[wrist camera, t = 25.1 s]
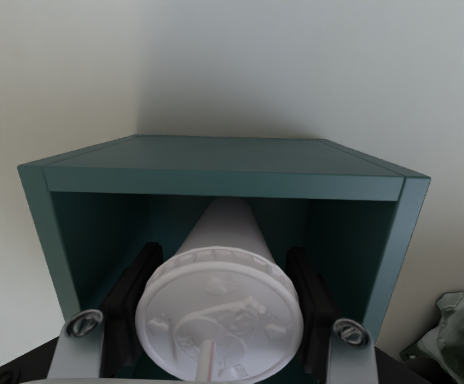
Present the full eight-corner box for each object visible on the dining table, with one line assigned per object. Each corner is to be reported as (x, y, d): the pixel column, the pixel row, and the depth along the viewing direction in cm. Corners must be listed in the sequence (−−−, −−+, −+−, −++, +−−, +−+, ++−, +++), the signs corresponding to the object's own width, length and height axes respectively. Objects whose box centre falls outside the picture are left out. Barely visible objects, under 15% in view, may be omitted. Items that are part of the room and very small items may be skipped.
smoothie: (170, 219, 18) (-27, 536, 5) (226, 159, 16) (169, 389, 3) (231, 266, 19) (214, 618, 6) (288, 216, 17) (445, 551, 4)
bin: (134, 134, 16) (14, 165, 8) (326, 139, 16) (433, 176, 7) (154, 303, 22) (99, 435, 13) (299, 308, 22) (341, 445, 13)
